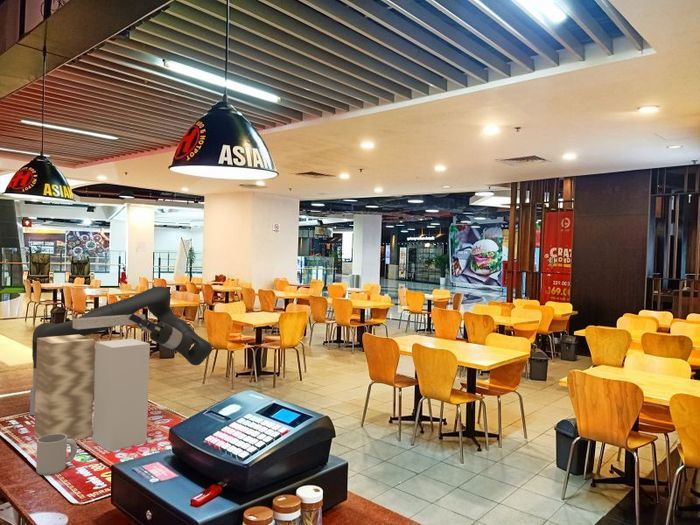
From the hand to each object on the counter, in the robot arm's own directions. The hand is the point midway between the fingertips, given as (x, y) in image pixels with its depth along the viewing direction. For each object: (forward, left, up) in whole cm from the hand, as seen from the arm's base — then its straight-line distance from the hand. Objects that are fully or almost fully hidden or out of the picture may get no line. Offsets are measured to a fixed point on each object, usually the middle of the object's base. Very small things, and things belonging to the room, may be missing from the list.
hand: (128, 315), depth 182 cm
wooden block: (-5, -3, -3) cm, 7 cm away
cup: (-11, -36, -39) cm, 54 cm away
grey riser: (+2, -17, -39) cm, 42 cm away
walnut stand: (-17, -9, -39) cm, 43 cm away
